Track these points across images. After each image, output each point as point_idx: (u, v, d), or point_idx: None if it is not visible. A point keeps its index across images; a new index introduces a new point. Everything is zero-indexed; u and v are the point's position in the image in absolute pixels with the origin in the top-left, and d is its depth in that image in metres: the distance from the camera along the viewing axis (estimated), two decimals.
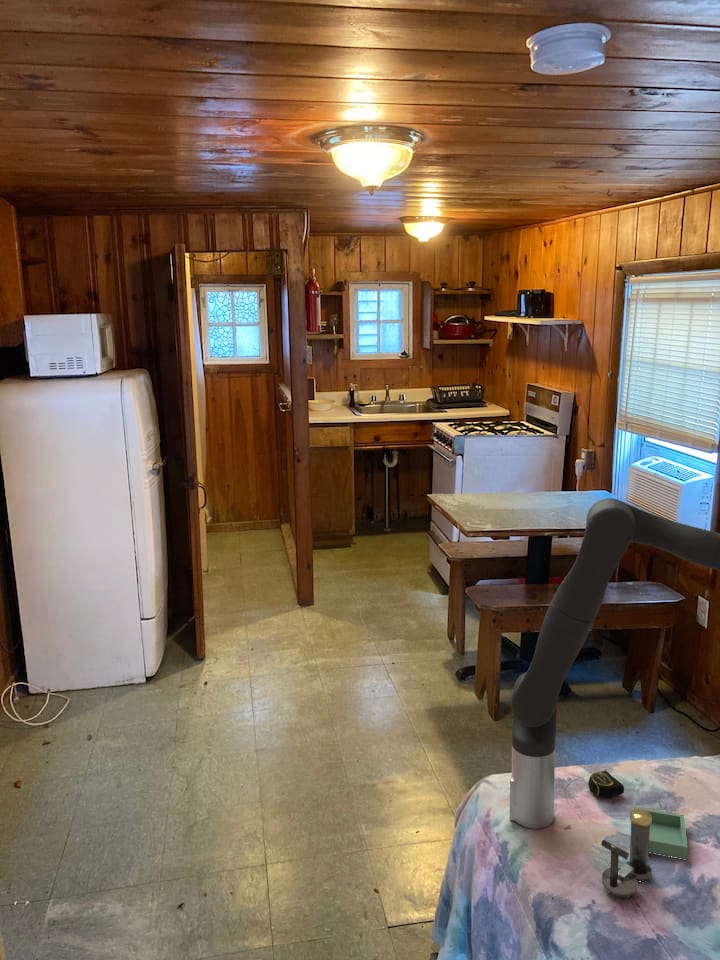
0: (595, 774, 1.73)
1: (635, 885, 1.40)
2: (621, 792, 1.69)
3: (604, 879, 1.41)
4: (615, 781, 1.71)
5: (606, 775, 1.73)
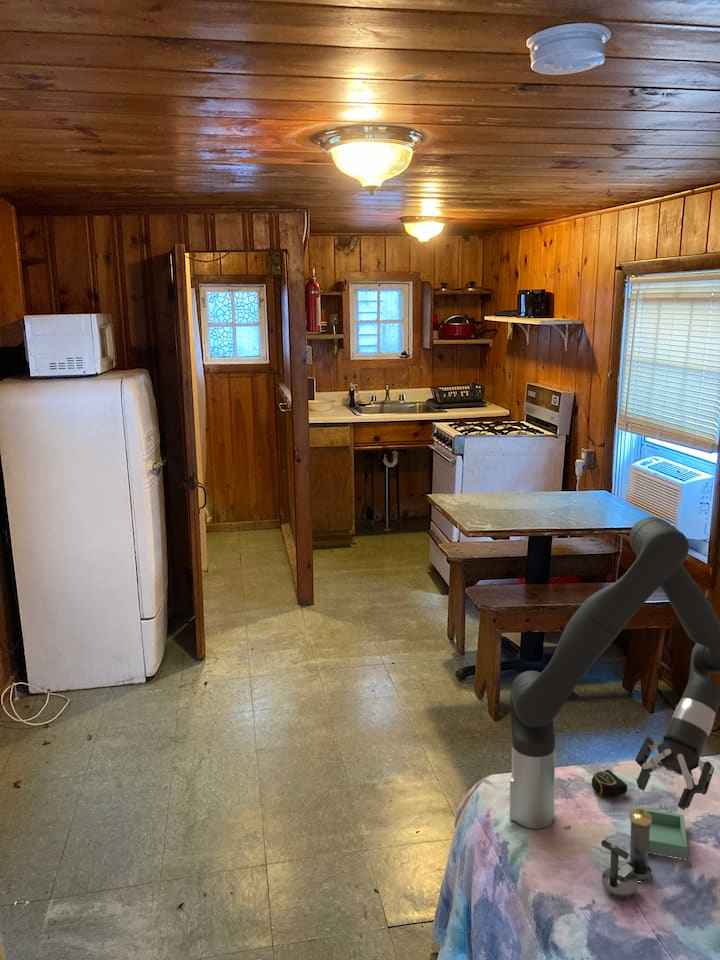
0: (598, 773, 1.74)
1: (635, 885, 1.40)
2: (624, 791, 1.70)
3: (604, 879, 1.41)
4: (618, 780, 1.71)
5: (609, 774, 1.73)
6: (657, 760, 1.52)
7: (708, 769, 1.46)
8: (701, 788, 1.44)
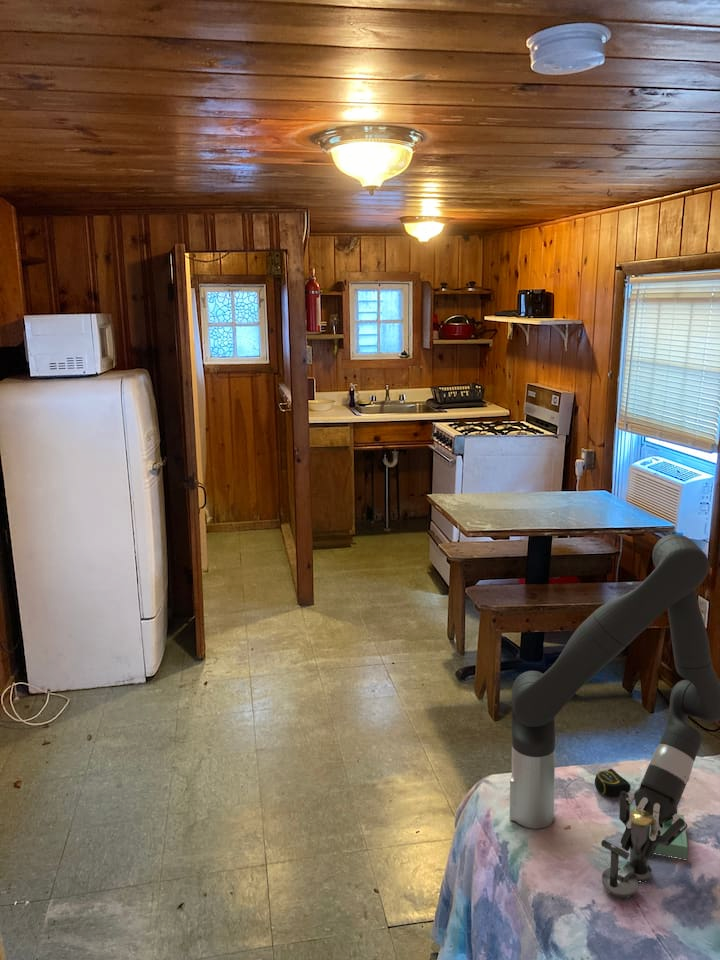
0: (601, 772, 1.74)
1: (635, 885, 1.40)
2: (627, 790, 1.70)
3: (604, 879, 1.41)
4: (621, 779, 1.71)
5: (612, 773, 1.74)
6: None
7: (679, 826, 1.41)
8: (663, 840, 1.41)
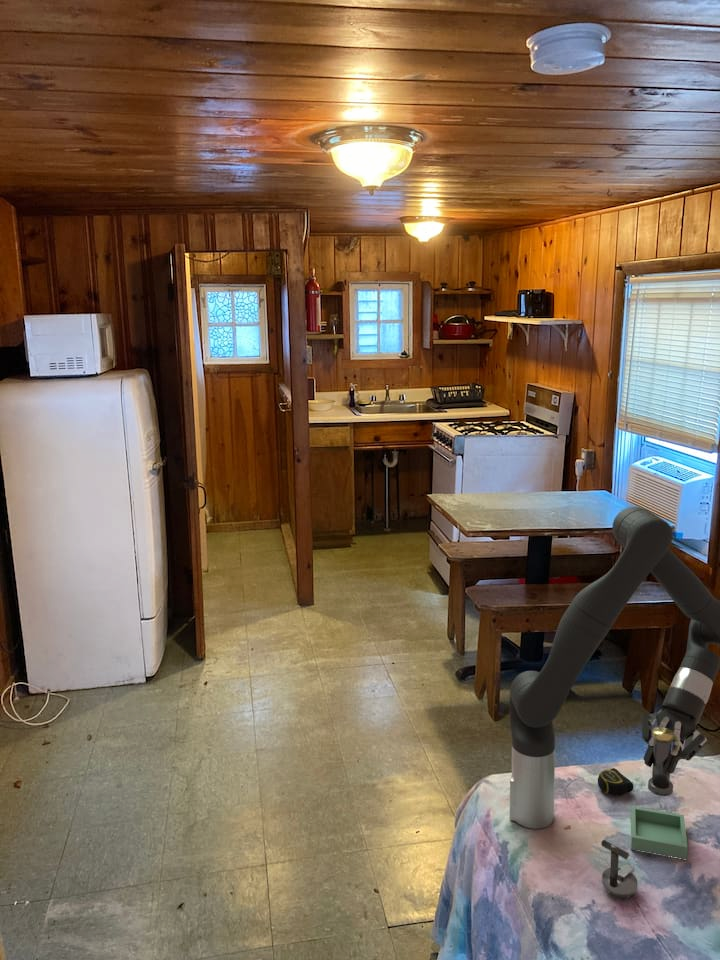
0: (604, 772, 1.74)
1: (635, 885, 1.40)
2: (630, 789, 1.70)
3: (604, 879, 1.41)
4: (624, 779, 1.71)
5: (615, 773, 1.74)
6: None
7: (699, 741, 1.49)
8: (684, 754, 1.49)
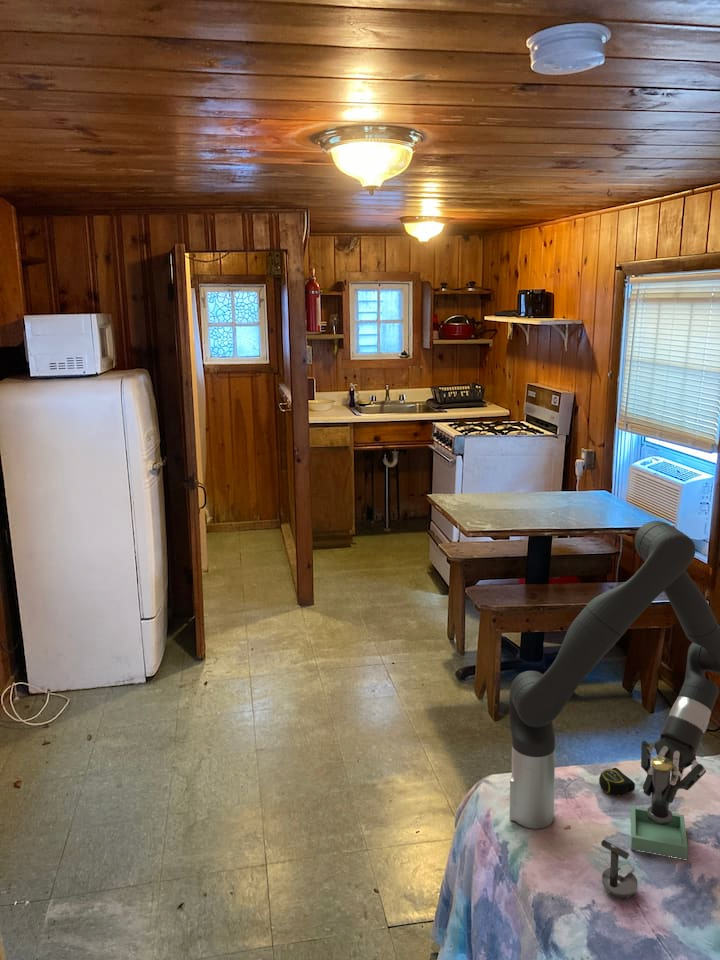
0: (606, 771, 1.74)
1: (635, 885, 1.40)
2: (632, 789, 1.70)
3: (604, 879, 1.41)
4: (626, 778, 1.72)
5: (617, 772, 1.74)
6: None
7: (698, 771, 1.50)
8: (683, 784, 1.50)
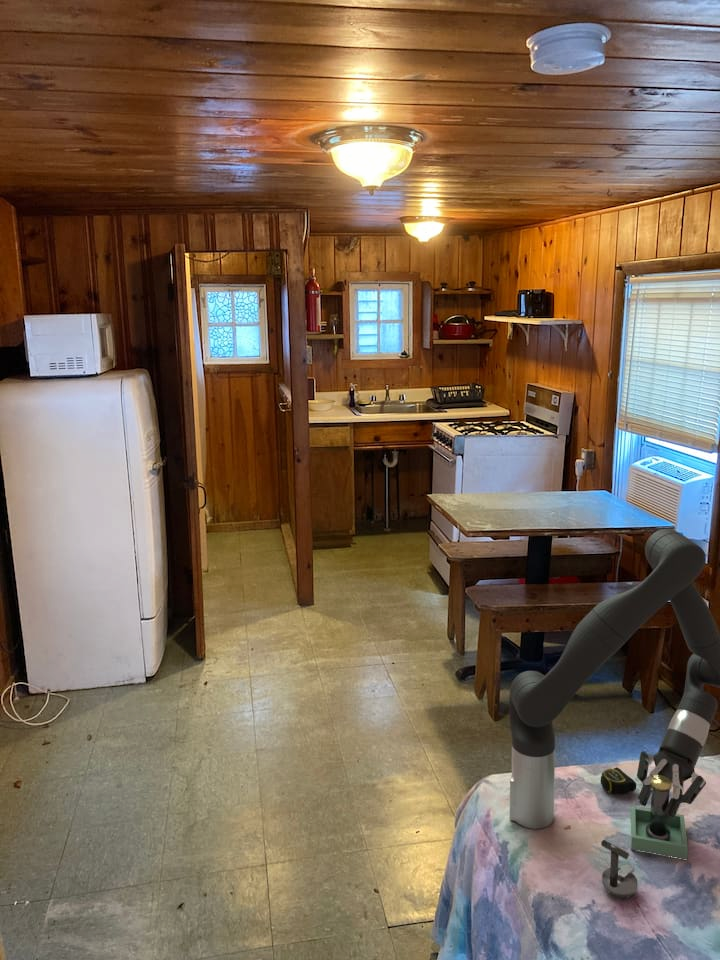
0: (607, 771, 1.75)
1: (635, 885, 1.40)
2: (633, 788, 1.71)
3: (604, 879, 1.41)
4: (627, 778, 1.72)
5: (618, 772, 1.74)
6: (656, 773, 1.56)
7: (698, 783, 1.51)
8: (686, 798, 1.50)
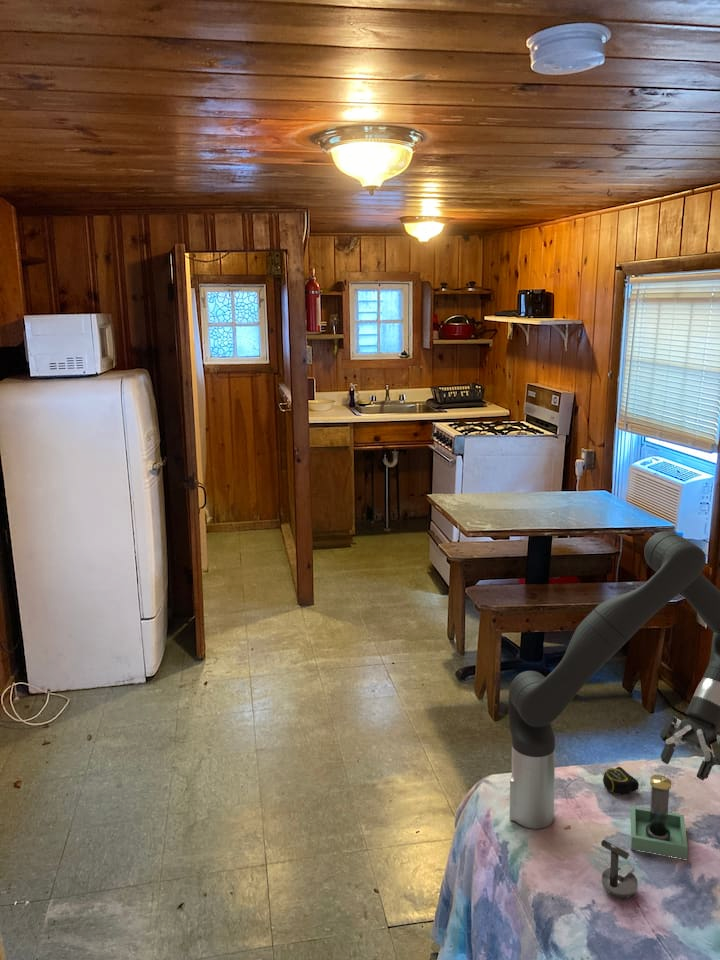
0: (610, 770, 1.75)
1: (635, 885, 1.40)
2: (636, 788, 1.71)
3: (604, 879, 1.41)
4: (630, 777, 1.72)
5: (621, 771, 1.74)
6: (679, 735, 1.64)
7: None
8: (717, 760, 1.56)
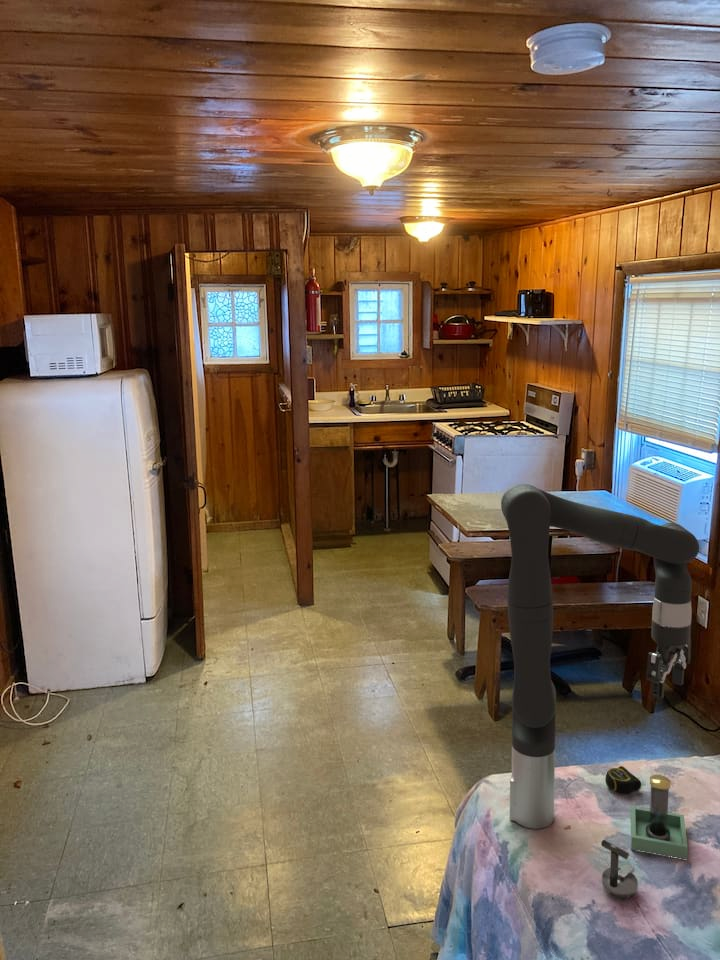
0: (612, 769, 1.75)
1: (635, 885, 1.40)
2: (638, 787, 1.71)
3: (604, 879, 1.41)
4: (632, 776, 1.72)
5: (623, 771, 1.75)
6: None
7: (648, 659, 1.52)
8: None
